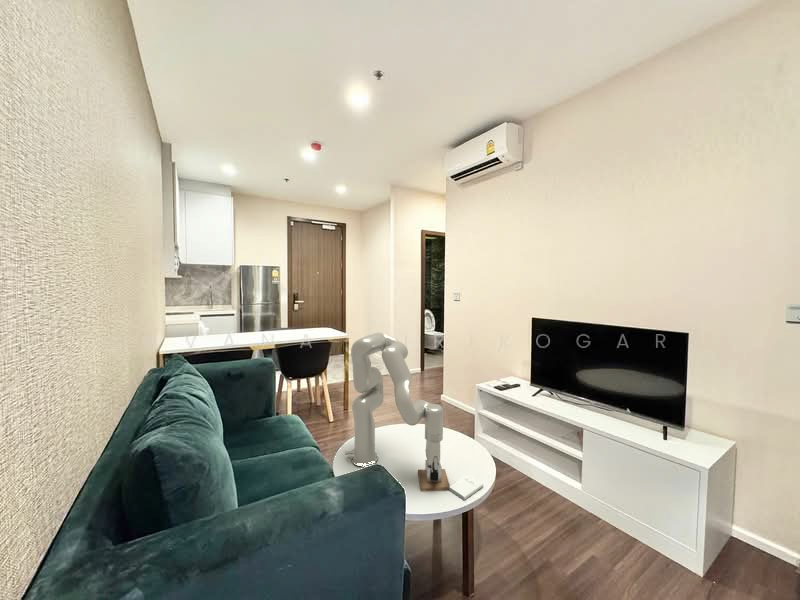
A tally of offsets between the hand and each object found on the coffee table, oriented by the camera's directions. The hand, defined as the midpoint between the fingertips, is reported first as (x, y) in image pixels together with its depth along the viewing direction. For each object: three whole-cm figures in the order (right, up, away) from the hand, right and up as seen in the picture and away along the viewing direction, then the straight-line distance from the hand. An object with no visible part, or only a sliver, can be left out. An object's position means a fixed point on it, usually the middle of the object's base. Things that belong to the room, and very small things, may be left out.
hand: (433, 474), depth 138 cm
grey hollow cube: (0, -1, 0) cm, 1 cm away
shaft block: (0, -3, 0) cm, 3 cm away
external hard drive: (+13, -4, -4) cm, 14 cm away
